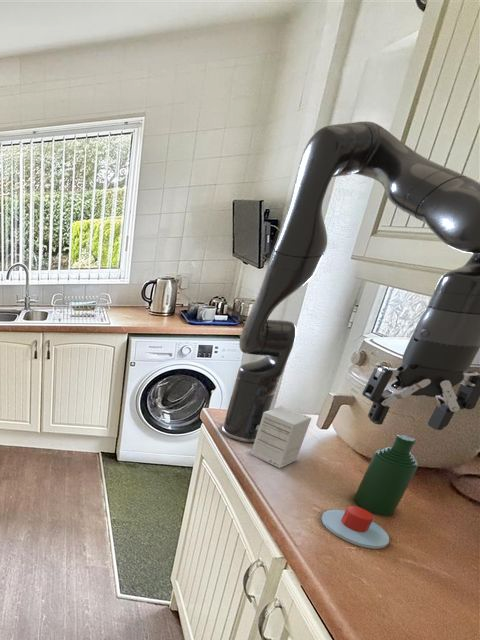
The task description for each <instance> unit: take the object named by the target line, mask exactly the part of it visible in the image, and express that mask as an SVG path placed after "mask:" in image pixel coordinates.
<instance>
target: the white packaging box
mask: <svg viewBox="0 0 480 640" xmlns="http://www.w3.org/2000/svg"><path fill="white" fill-rule="evenodd" d="M311 421H312V417H311V416H308V415H306V414H303V413H300V412H297V411H296V410H291V409H289V408H287V407H284V406H280V405H279V406H277V407H274V408H272V409H271V408H270V410H269V411H266V412H264V413H263V416H262V419H261V423H260V426H259V429H258V432H257V435H256V439H255V442H253V446H252V448H251V452H250V454H251V455H252V456H254V457H256V458H257V459H260V460H262V461H264V462H265V463H268V464H270V465H272V466H274V467H276V468H278V469H281V468H283V467H285V466H288V465H290V464H291V463H293V462H296V461H297V459H298V456H299V453H300V450H301V449H302V445H303V443H304V440H305V437H306V434H307V432H308V429H309V427H310V424H311Z"/></svg>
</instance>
